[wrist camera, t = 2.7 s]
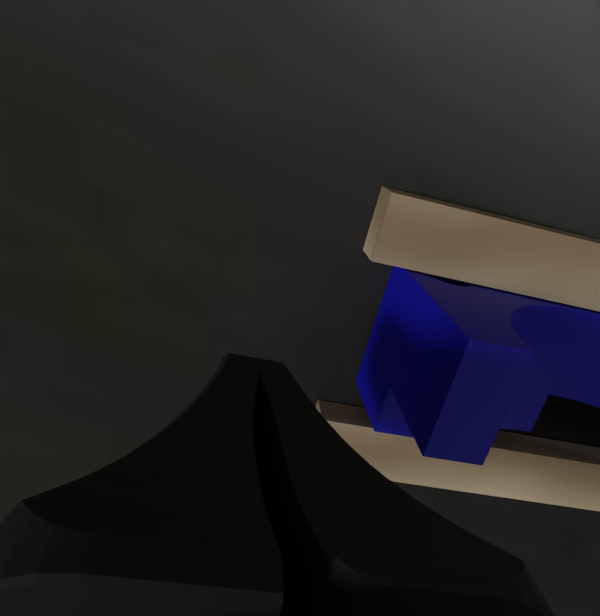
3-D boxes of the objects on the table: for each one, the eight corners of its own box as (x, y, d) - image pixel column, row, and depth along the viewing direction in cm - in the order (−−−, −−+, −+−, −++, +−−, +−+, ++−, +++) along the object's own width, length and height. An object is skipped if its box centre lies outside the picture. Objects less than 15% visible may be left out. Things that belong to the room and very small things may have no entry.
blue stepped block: (355, 379, 17) (402, 507, 12) (394, 257, 16) (469, 338, 10) (648, 432, 19) (806, 562, 14) (709, 328, 18) (912, 428, 12)
